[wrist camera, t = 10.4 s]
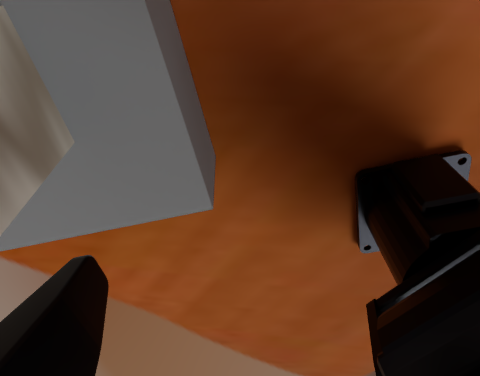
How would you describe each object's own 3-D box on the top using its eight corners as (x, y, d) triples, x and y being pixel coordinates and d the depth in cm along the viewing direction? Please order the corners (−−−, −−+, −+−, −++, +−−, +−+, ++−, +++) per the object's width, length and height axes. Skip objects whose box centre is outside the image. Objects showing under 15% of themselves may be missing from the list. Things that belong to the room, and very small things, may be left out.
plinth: (215, 156, 20) (213, 209, 16) (-8, 204, 22) (-63, 263, 18) (117, -178, 13) (65, -240, 9) (-218, -75, 14) (-404, -87, 10)
